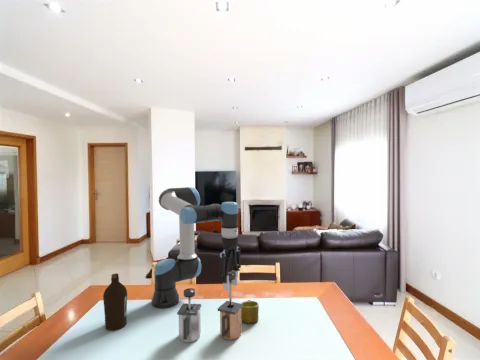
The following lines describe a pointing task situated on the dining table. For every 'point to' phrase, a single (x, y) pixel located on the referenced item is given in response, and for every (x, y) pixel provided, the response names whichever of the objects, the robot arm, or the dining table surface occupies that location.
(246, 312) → the mug
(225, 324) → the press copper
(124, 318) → the olive oil
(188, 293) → the plunger steel
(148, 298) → the dining table surface
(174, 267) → the robot arm
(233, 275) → the plunger copper
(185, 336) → the plate
